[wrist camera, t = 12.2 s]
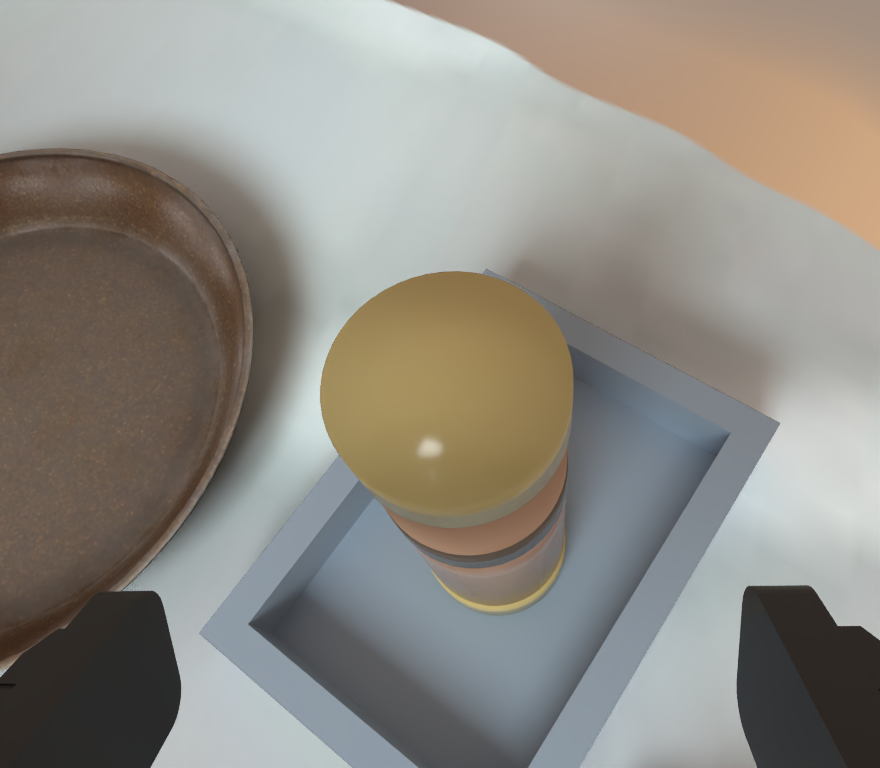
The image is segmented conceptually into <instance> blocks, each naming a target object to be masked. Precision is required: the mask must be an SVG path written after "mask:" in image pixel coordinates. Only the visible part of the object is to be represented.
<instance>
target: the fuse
mask: <svg viewBox="0 0 880 768" xmlns="http://www.w3.org/2000/svg"><path fill="white" fill-rule="evenodd" d="M320 403H321V410H322V417H323V420H324V424H325V427H326V430H327V433H328V435H329V437H330V439H331V442H332V444H333V446H334V447H335V449H336V450H337V452H338V453H339V455H340V456H341V458H342V459H343V460H344V462H345V463H346V464H347V466H348V467H349V468H350V469H351V471H352V472H353V473H354V474H355V476H356V477H357V478H358V479H359V481H360V482H361V483H362V485H363V486H364V487H365V488H366V489H367V490H368V492H369V493H370V494H371V495H372V496H373V497H374V498H375V499H376V500H377V501H379V502H380V503H381V504H382V506H383V507H384V508H385V510H386V511H387V513H388V514H389V516H390V517H391V519H392V520H393V522H394V523H395V524H396V525H397V527H398V528H399V529H400V531H401V532H402V533H403V534H404V536H405V537H406V538H407V539H408V540H409V541H410V542H411V543H412V545H413V546H414V547H415V548H416V550H417V551H418V552H419V554H420V555H421V556H422V558H423V559H424V560H425V561H426V563H427V564H428V565H429V567H430V568H431V570H432V572H433V574H434V575H435V577H436V578H437V580H438V581H439V582H440V584H441V585H442V586H443V588H444V589H445V590H446V591H447V592H448V593H449V595H450V596H451V597H452V598H454V599H455V600H456V601H457V602H458V603H460V604H462V605H463V606H465V607H466V608H469V609H471V610H473V611H476V612H479V613H482V614H487V615H510V614H514V613H518V612H521V611H523V610H526V609H528V608H530V607H531V606H533V605H535V604H536V603H538V602H539V601H540V600H542V599H543V598H544V597H545V596H546V595H547V594H548V593H549V591H550V590H551V589H552V588H553V586H554V585H555V583H556V581H557V579H558V578H559V575H560V573H561V570H562V567H563V563H564V557H565V543H566V532H565V525H564V524H565V500H566V488H567V475H568V441H569V437H570V431H571V423H572V405H573V366H572V361H571V355H570V352H569V349H568V346H567V343H566V340H565V338H564V336H563V334H562V332H561V330H560V328H559V326H558V325H557V323H556V322H555V321H554V319H553V318H552V316H551V315H550V314H549V313H548V312H547V310H546V309H545V308H544V307H543V306H542V305H541V304H540V303H539V302H537V301H536V300H535V299H534V298H533V297H531V296H530V295H529V294H527V293H526V292H524V291H523V290H521V289H519V288H518V287H516V286H514V285H512V284H510V283H508V282H505V281H503V280H500V279H497V278H494V277H491V276H488V275H483V274H478V273H472V272H459V271H455V272H438V273H431V274H426V275H422V276H418V277H414V278H411V279H408V280H406V281H403V282H400V283H398V284H396V285H394V286H392V287H390V288H388V289H386V290H384V291H382V292H381V293H379V294H378V295H376V296H375V297H373V298H372V299H370V300H369V301H368V302H367V303H366V304H364V305H363V306H362V307H361V308H359V310H358V311H357V312H356V313H355V314H354V315H353V316H352V317H351V318H350V319H349V320H348V321H347V323H346V324H345V325H344V327H343V328H342V329H341V331H340V332H339V334H338V335H337V337H336V339H335V341H334V342H333V344H332V346H331V349H330V351H329V353H328V356H327V358H326V361H325V365H324V369H323V372H322V379H321V386H320Z"/></svg>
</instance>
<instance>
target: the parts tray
mask: <svg viewBox="0 0 880 768" xmlns="http://www.w3.org/2000/svg"><path fill="white" fill-rule="evenodd" d="M483 275H488V276H491V277H494V278H497V279H500V280H503V281H505V282H508V283H510V284H512V285H514V286H516V287H518V288H519V289H521V290H523V291H524V292H526V293H527V294H529V295H530V296H531V297H533V298H534V299H535V300H536V301H537V302H539V303H540V304H541V305H542V306H543V307H544V308H545V309H546V310H547V312H548V313H549V314H550V315H551V316H552V318H553V319H554V321H555V322H556V323H557V325H558V326H559V328H560V330H561V332H562V334H563V336H564V338H565V340H566V343H567V346H568V349H569V352H570V355H571V361H572V366H573V405H572V423H571V431H570V437H569V441H568V475H567V488H566V500H565V524H564V525H565V532H566V543H565V557H564V563H563V567H562V570H561V573H560V575H559V578H558V579H557V581H556V583H555V585H554V586H553V588H552V589H551V590H550V591H549V593H548V594H547V595H546V596H545V597H544V598H543V599H542V600H540V601H539V602H538V603H536V604H535V605H533V606H531V607H530V608H528V609H526V610H523V611H521V612H518V613H514V614H510V615H487V614H482V613H479V612H476V611H473V610H471V609H469V608H466V607H465V606H463V605H462V604H460V603H458V602H457V601H456V600H455V599H454V598H452V597H451V596H450V595H449V593H448V592H447V591H446V590H445V589H444V588H443V586H442V585H441V584H440V582H439V581H438V580H437V578H436V577H435V575H434V574H433V572H432V570H431V568H430V567H429V565H428V564H427V563H426V561H425V560H424V559H423V558H422V556H421V555H420V554H419V552H418V551H417V550H416V548H415V547H414V546H413V545H412V543H411V542H410V541H409V540H408V539H407V538H406V537H405V536H404V534H403V533H402V532H401V531H400V529H399V528H398V527H397V525H396V524H395V523H394V522H393V520H392V519H391V517H390V516H389V514H388V513H387V511H386V510H385V508H384V507H383V506H382V504H381V503H380V502H379V501H377V500H376V499H375V498H374V497H373V496H372V495H371V494H370V493H369V492H368V490H367V489H366V488H365V487H364V486H363V485H362V483H361V482H360V481H359V479H358V478H357V477H356V476H355V474H354V473H353V472H352V471H351V469H350V468H349V467H348V466H347V464H346V463H345V462H344V460H343V459H342V458H341V456H340V455H339V456H338V458H337V459H336V460H335V461H334V463H333V464H332V465H331V466H330V468H329V469H328V470H327V472H326V473H325V474H324V475H323V477H322V478H321V479H320V480H319V482H318V483H317V484H316V485H315V487H314V488H313V489H312V491H311V492H310V493H309V494H308V496H307V497H306V498H305V499H304V501H303V502H302V503H301V504H300V506H299V507H298V508H297V510H296V511H295V512H294V513H293V515H292V516H291V517H290V518H289V520H288V521H287V522H286V524H285V525H284V526H283V527H282V529H281V530H280V531H279V532H278V534H277V535H276V536H275V537H274V539H273V540H272V541H271V543H270V544H269V545H268V546H267V548H266V549H265V550H264V551H263V553H262V554H261V555H260V556H259V558H258V559H257V560H256V562H255V563H254V564H253V565H252V567H251V568H250V569H249V570H248V572H247V573H246V574H245V575H244V577H243V578H242V579H241V581H240V582H239V583H238V584H237V586H236V587H235V588H234V589H233V591H232V592H231V593H230V594H229V596H228V597H227V598H226V600H225V601H224V602H223V603H222V605H221V606H220V607H219V608H218V610H217V611H216V612H215V613H214V615H213V616H212V617H211V619H210V620H209V621H208V622H207V624H206V625H205V626H204V627H203V629H202V630H201V631H200V633H199V634H200V635H201V636H203V637H204V638H205V639H206V640H207V641H208V642H209V643H211V644H212V645H213V646H214V647H215V648H216V649H217V650H219V651H220V652H221V653H222V654H223V655H224V656H225V657H227V658H228V659H229V660H230V661H231V662H232V663H233V664H235V665H236V666H237V667H238V668H239V669H240V670H241V671H243V672H244V673H245V674H246V675H247V676H248V677H249V678H251V679H252V680H253V681H254V682H255V683H256V684H257V685H259V686H260V687H261V688H262V689H263V690H264V691H265V692H267V693H268V694H269V695H270V696H271V697H272V698H273V699H275V700H276V701H277V702H278V703H279V704H280V705H281V706H283V707H284V708H285V709H286V710H287V711H288V712H289V713H291V714H292V715H293V716H294V717H295V718H296V719H297V720H299V721H300V722H301V723H302V724H303V725H304V726H305V727H307V728H308V729H309V730H310V731H311V732H312V733H313V734H315V735H316V736H317V737H318V738H319V739H320V740H321V741H323V742H324V743H325V744H326V745H327V746H328V747H329V748H331V749H332V750H333V751H334V752H335V753H336V754H337V755H339V756H340V757H341V758H342V759H343V760H344V761H345V762H347V763H348V764H349V765H350V766H351V767H352V768H579V767H580V765H581V763H582V762H583V760H584V758H585V756H586V755H587V753H588V751H589V750H590V748H591V746H592V744H593V743H594V741H595V739H596V738H597V736H598V734H599V732H600V731H601V729H602V727H603V726H604V724H605V722H606V721H607V719H608V717H609V715H610V714H611V712H612V710H613V709H614V707H615V705H616V703H617V702H618V700H619V698H620V697H621V695H622V693H623V691H624V690H625V688H626V686H627V685H628V683H629V681H630V679H631V678H632V676H633V674H634V673H635V671H636V669H637V668H638V666H639V664H640V662H641V661H642V659H643V657H644V656H645V654H646V652H647V650H648V649H649V647H650V645H651V644H652V642H653V640H654V638H655V637H656V635H657V633H658V632H659V630H660V628H661V626H662V625H663V623H664V621H665V620H666V618H667V616H668V614H669V613H670V611H671V609H672V608H673V606H674V604H675V603H676V601H677V599H678V597H679V596H680V594H681V592H682V591H683V589H684V587H685V585H686V584H687V582H688V580H689V579H690V577H691V575H692V573H693V572H694V570H695V568H696V567H697V565H698V563H699V561H700V560H701V558H702V556H703V555H704V553H705V551H706V550H707V548H708V546H709V544H710V543H711V541H712V539H713V538H714V536H715V534H716V532H717V531H718V529H719V527H720V526H721V524H722V522H723V520H724V519H725V517H726V515H727V514H728V512H729V510H730V508H731V507H732V505H733V503H734V502H735V500H736V498H737V497H738V495H739V493H740V491H741V490H742V488H743V486H744V485H745V483H746V481H747V479H748V478H749V476H750V474H751V473H752V471H753V469H754V467H755V466H756V464H757V462H758V461H759V459H760V457H761V455H762V454H763V452H764V450H765V449H766V447H767V445H768V443H769V442H770V440H771V438H772V437H773V435H774V433H775V432H776V430H777V428H778V426H779V425H780V423H779V422H777V421H775V420H773V419H771V418H769V417H768V416H766V415H764V414H762V413H760V412H758V411H756V410H754V409H752V408H750V407H749V406H747V405H745V404H743V403H741V402H739V401H737V400H735V399H733V398H731V397H730V396H728V395H726V394H724V393H722V392H720V391H718V390H716V389H714V388H712V387H711V386H709V385H707V384H705V383H703V382H701V381H699V380H697V379H695V378H693V377H691V376H690V375H688V374H686V373H684V372H682V371H680V370H678V369H676V368H674V367H672V366H671V365H669V364H667V363H665V362H663V361H661V360H659V359H657V358H655V357H653V356H652V355H650V354H648V353H646V352H644V351H642V350H640V349H638V348H636V347H634V346H632V345H631V344H629V343H627V342H625V341H623V340H621V339H619V338H617V337H615V336H613V335H612V334H610V333H608V332H606V331H604V330H602V329H600V328H598V327H596V326H594V325H593V324H591V323H589V322H587V321H585V320H583V319H581V318H579V317H577V316H575V315H574V314H572V313H570V312H568V311H566V310H564V309H562V308H560V307H558V306H556V305H554V304H553V303H551V302H549V301H547V300H545V299H543V298H541V297H539V296H537V295H535V294H534V293H532V292H530V291H528V290H526V289H524V288H522V287H520V286H518V285H516V284H515V283H513V282H511V281H509V280H507V279H505V278H503V277H501V276H499V275H497V274H495V273H494V272H492V271H490V270H488V269H486V270H485V271H484V273H483Z"/></svg>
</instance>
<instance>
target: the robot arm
mask: <svg viewBox="0 0 880 768" xmlns="http://www.w3.org/2000/svg"><path fill="white" fill-rule="evenodd" d="M180 699H181V680H180V675H179V671H178V666H177V662H176V658H175V654H174V649H173V645H172V641H171V637H170V632H169V628H168V624H167V620H166V615H165V611H164V607H163V604H162V601H161V599H160V597H159V595H158V594H157V593H156V592H153V591H107V592H99V593H97V594H95V595H94V596H93V597H92V598H91V599H90V600H89V601H88V602H87V604H86V605H85V606H84V607H83V608H82V609H81V610H80V612H79V613H78V614H77V615H76V616H75V617H74V619H73V620H72V621H71V622H70V623H69V624H68V625H67V627H66V628H65V629H57V630H56V631H54V632H53V633H52V634H50V635H49V636H47V637H46V638H44V639H43V640H41V641H40V642H38V643H37V644H36V645H34V646H33V647H31V648H30V649H28V650H27V651H25V652H24V653H22V654H21V655H20V657H19V658H18V659H17V660H16V661H15V662H14V663H13V664H12V665H11V666H10V668H9V669H8V670H7V671H6V672H5V673H4V674H3V675H2V676H1V677H0V768H150V767H151V765H152V764H153V762H154V760H155V758H156V756H157V755H158V753H159V751H160V749H161V747H162V745H163V744H164V742H165V740H166V738H167V736H168V735H169V733H170V731H171V729H172V727H173V725H174V723H175V720H176V718H177V714H178V710H179V706H180ZM737 699H738V707H739V713H740V718H741V723H742V727H743V730H744V733H745V736H746V739H747V741H748V744H749V747H750V749H751V752H752V754H753V757H754V760H755V762H756V765H757V768H880V640H878V639H877V638H876V637H874V636H873V635H872V634H870V633H869V632H868V631H866V630H865V629H864V628H862V627H861V626H837V624H836V623H835V621H834V620H833V618H832V617H831V615H830V614H829V612H828V610H827V609H826V607H825V606H824V604H823V603H822V601H821V600H820V598H819V596H818V595H817V593H816V592H815V591H814V589H813V588H812V587H810V586H808V585H804V586H748V587H747V588H746V589H745V592H744V595H743V602H742V615H741V629H740V643H739V657H738V670H737Z"/></svg>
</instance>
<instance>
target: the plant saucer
mask: <svg viewBox="0 0 880 768" xmlns="http://www.w3.org/2000/svg"><path fill="white" fill-rule="evenodd" d="M252 351H253V315H252V303H251V296H250V291H249V286H248V281H247V277H246V274H245V271H244V268H243V265H242V262H241V260H240V257H239V254H238V252H237V250H236V248H235V246H234V244H233V242H232V240H231V238H230V236H229V235H228V233H227V231H226V230H225V229H224V227H223V226H222V224H221V223H220V221H219V220H218V218H217V217H216V216H215V215H214V214H213V213H212V211H211V210H210V209H209V208H208V207H207V206H206V205H205V204H204V203H203V201H202V200H200V199H199V198H198V197H197V196H196V195H195V194H194V193H193V192H191V191H190V190H189V189H187V188H186V187H185V186H184V185H182V184H181V183H179V182H178V181H176V180H174V179H172V178H170V177H169V176H167V175H166V174H164V173H162V172H160V171H158V170H156V169H154V168H152V167H150V166H148V165H146V164H143V163H141V162H137V161H134V160H131V159H128V158H124V157H121V156H117V155H113V154H107V153H102V152H96V151H90V150H80V149H37V150H26V151H17V152H10V153H4V154H0V671H2V670H4V669H6V668H8V667H10V666H11V665H12V664H13V663H14V662H15V661H16V660H17V659H18V658H19V657H20V655H21V654H22V653H24V652H25V651H27V650H28V649H30V648H31V647H33V646H34V645H36V644H37V643H38V642H40V641H41V640H43V639H44V638H46V637H47V636H49V635H50V634H52V633H53V632H54V631H56V630H57V629H65V628H66V627H67V625H68V624H69V623H70V622H71V621H72V620H73V619H74V617H75V616H76V615H77V614H78V613H79V612H80V610H81V609H82V608H83V607H84V606H85V605H86V604H87V602H88V601H89V600H90V599H91V598H92V597H93V596H94V595H95V594H97V593H99V592H107V591H122V590H123V589H124V588H126V587H127V586H128V585H129V584H130V583H131V582H132V581H133V580H134V579H135V578H136V577H137V576H138V575H139V574H140V573H141V572H142V571H143V570H144V569H145V568H146V567H147V566H148V565H149V564H150V563H151V562H152V561H153V560H154V559H155V557H156V556H157V555H158V554H159V553H160V552H161V551H162V550H163V548H164V547H165V546H166V545H167V544H168V542H169V541H170V540H171V539H172V538H173V536H174V535H175V534H176V533H177V531H178V530H179V529H180V528H181V526H182V525H183V523H184V522H185V521H186V519H187V518H188V516H189V515H190V514H191V512H192V511H193V509H194V508H195V506H196V505H197V503H198V502H199V500H200V498H201V497H202V495H203V493H204V492H205V490H206V488H207V487H208V485H209V483H210V481H211V480H212V478H213V476H214V474H215V472H216V471H217V469H218V467H219V464H220V462H221V460H222V458H223V456H224V454H225V452H226V449H227V447H228V444H229V442H230V439H231V437H232V434H233V432H234V429H235V427H236V424H237V421H238V418H239V414H240V411H241V408H242V404H243V401H244V397H245V393H246V389H247V385H248V381H249V375H250V368H251V361H252Z"/></svg>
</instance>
